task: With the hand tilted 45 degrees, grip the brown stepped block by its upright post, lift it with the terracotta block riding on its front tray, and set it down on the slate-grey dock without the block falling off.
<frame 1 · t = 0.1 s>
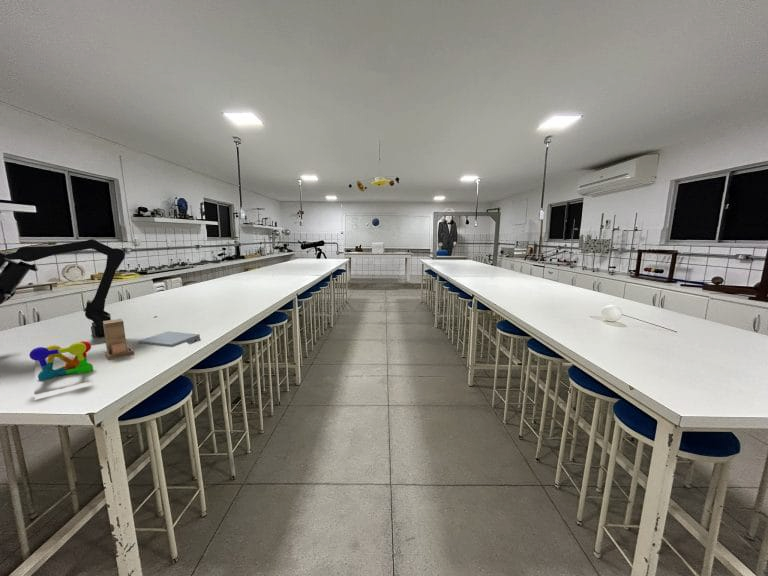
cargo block: (119, 354, 108), point 1 cm above the table, touching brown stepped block
dock: (170, 342, 124), on the table
molecular model: (67, 377, 93), on the table
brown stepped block: (117, 353, 112), on the table, touching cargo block
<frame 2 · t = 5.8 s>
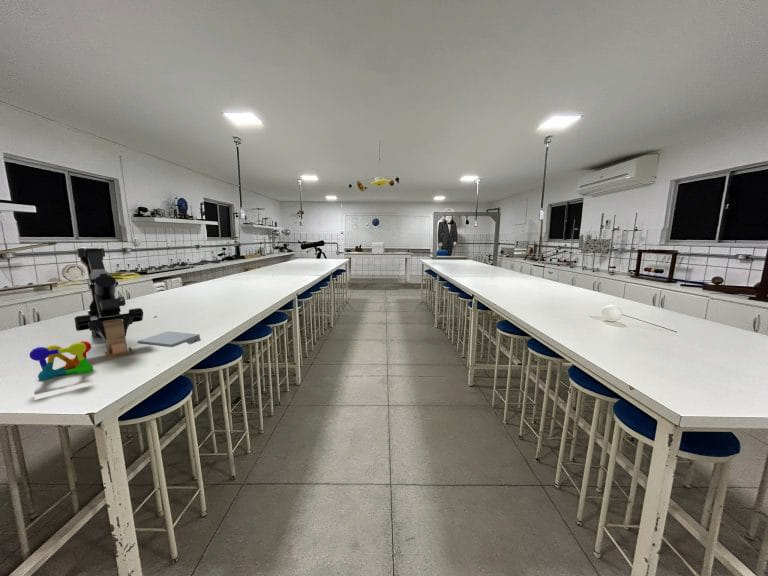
hand: (115, 337, 110), 7 cm above the table, tool tilted 45°, fingers closed on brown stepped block, 5 cm apart
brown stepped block: (117, 353, 111), on the table, touching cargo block, gripper
everything else where it was.
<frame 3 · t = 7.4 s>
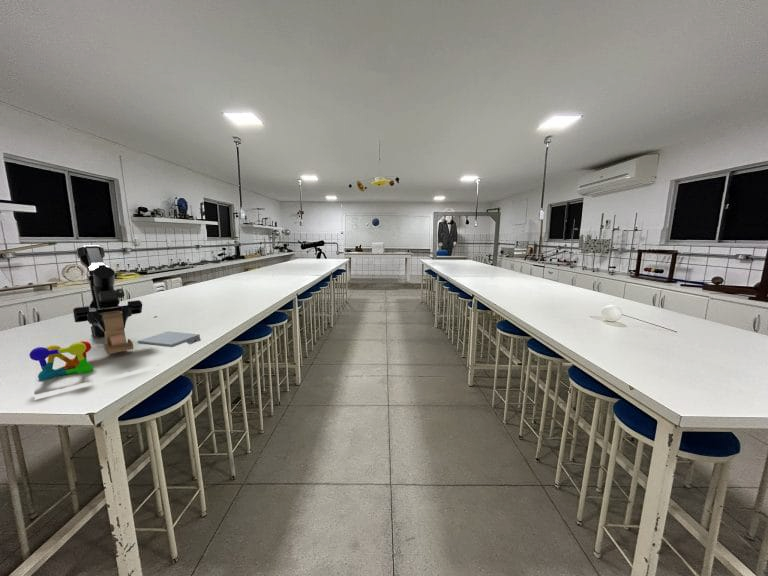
hand: (114, 329, 109), 10 cm above the table, tool tilted 45°, fingers closed on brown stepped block, 5 cm apart
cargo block: (118, 346, 107), point 4 cm above the table, touching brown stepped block
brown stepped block: (116, 345, 111), point 3 cm above the table, touching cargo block, gripper
everything else where it was.
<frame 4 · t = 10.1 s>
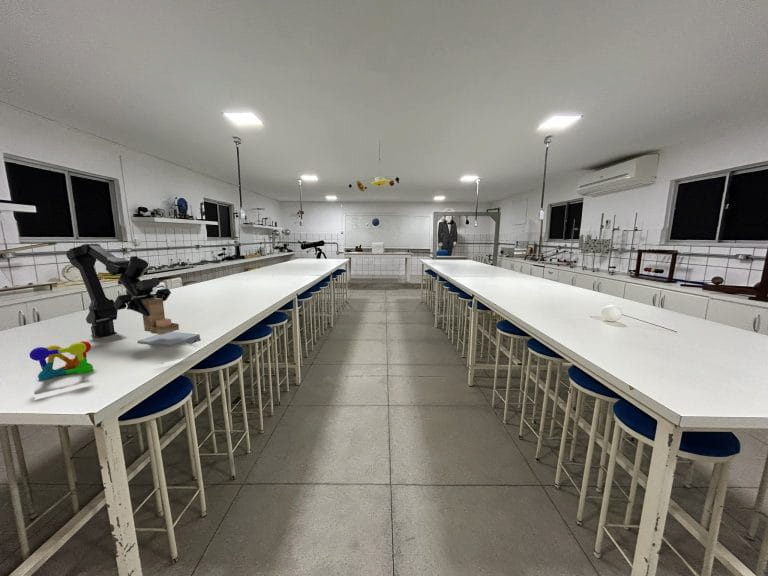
hand: (156, 314, 120), 12 cm above the table, tool tilted 45°, fingers closed on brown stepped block, 5 cm apart
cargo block: (164, 328, 120), point 7 cm above the table, touching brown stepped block
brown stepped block: (155, 329, 121), point 6 cm above the table, touching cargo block, gripper
everything else where it was.
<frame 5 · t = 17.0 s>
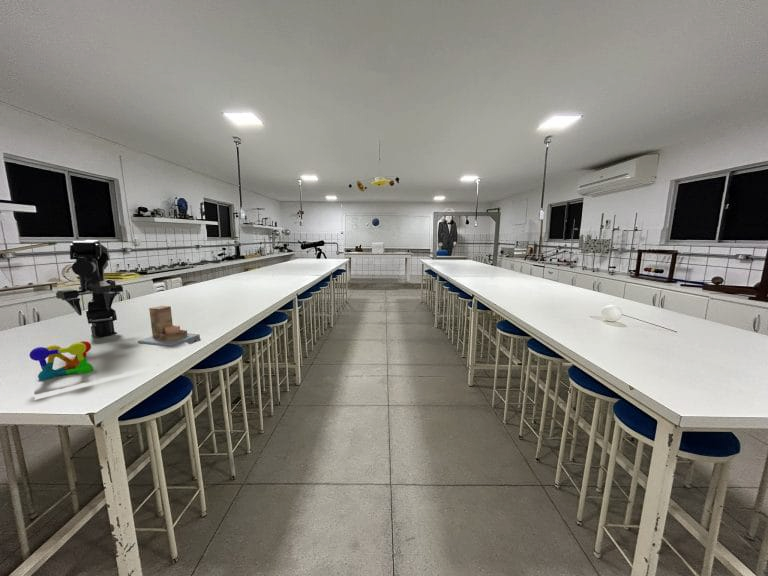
hand: (95, 312, 120), 13 cm above the table, tool pointing down, fingers open, 9 cm apart
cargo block: (173, 335, 123), point 3 cm above the table, touching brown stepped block
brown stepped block: (163, 336, 125), point 2 cm above the table, touching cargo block, dock
everything else where it was.
at the end: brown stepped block inside the target area on the dock (0.5 cm from its centre), point 2.0 cm above the dock's base; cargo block inside the target area on the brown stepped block (0.5 cm from its centre), point 1.2 cm above the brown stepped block's base; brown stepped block tilted 0° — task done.
